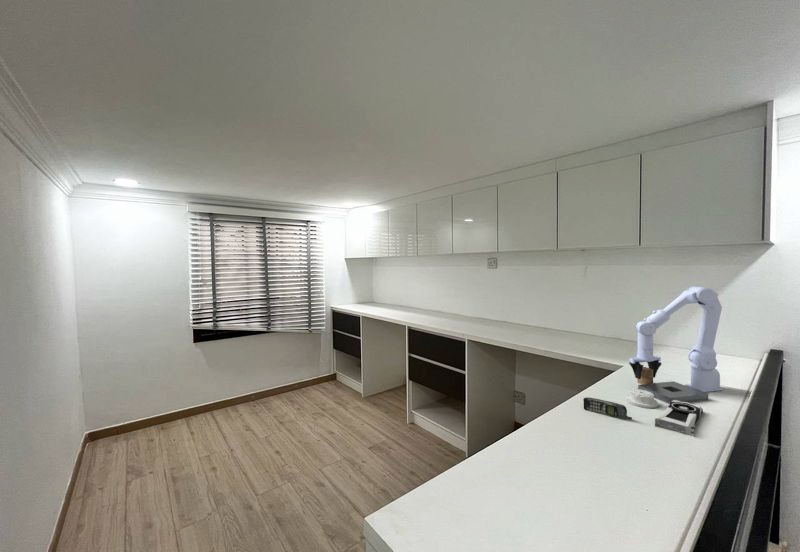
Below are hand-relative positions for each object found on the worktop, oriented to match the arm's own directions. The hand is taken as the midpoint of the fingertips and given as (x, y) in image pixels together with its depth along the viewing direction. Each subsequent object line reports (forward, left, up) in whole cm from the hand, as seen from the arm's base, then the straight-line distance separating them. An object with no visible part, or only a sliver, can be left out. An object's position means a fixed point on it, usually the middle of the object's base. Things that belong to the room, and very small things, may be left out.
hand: (645, 377), depth 147 cm
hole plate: (+1, +13, -3) cm, 13 cm away
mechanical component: (+19, +16, -3) cm, 25 cm away
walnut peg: (0, 0, -3) cm, 3 cm away
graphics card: (+18, +31, -4) cm, 36 cm away
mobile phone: (+39, +22, -3) cm, 45 cm away
